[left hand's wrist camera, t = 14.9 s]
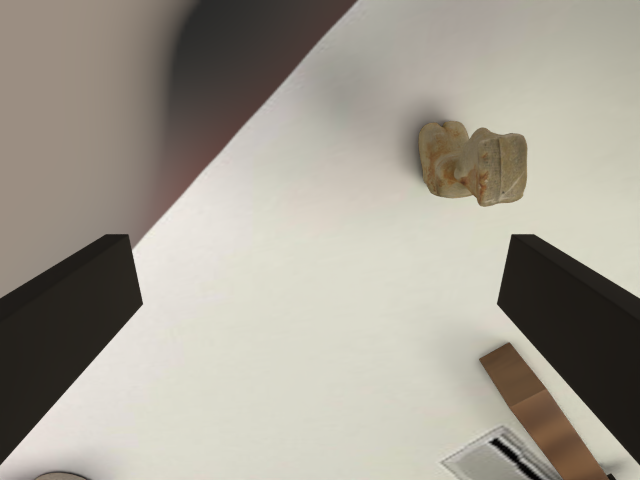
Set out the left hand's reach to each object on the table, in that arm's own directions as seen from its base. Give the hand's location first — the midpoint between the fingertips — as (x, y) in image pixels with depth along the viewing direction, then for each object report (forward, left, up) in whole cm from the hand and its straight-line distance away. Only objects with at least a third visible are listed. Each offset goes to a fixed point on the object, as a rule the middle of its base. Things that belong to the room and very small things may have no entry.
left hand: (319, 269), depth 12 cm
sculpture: (-9, +9, -28) cm, 31 cm away
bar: (+4, +53, -28) cm, 60 cm away
